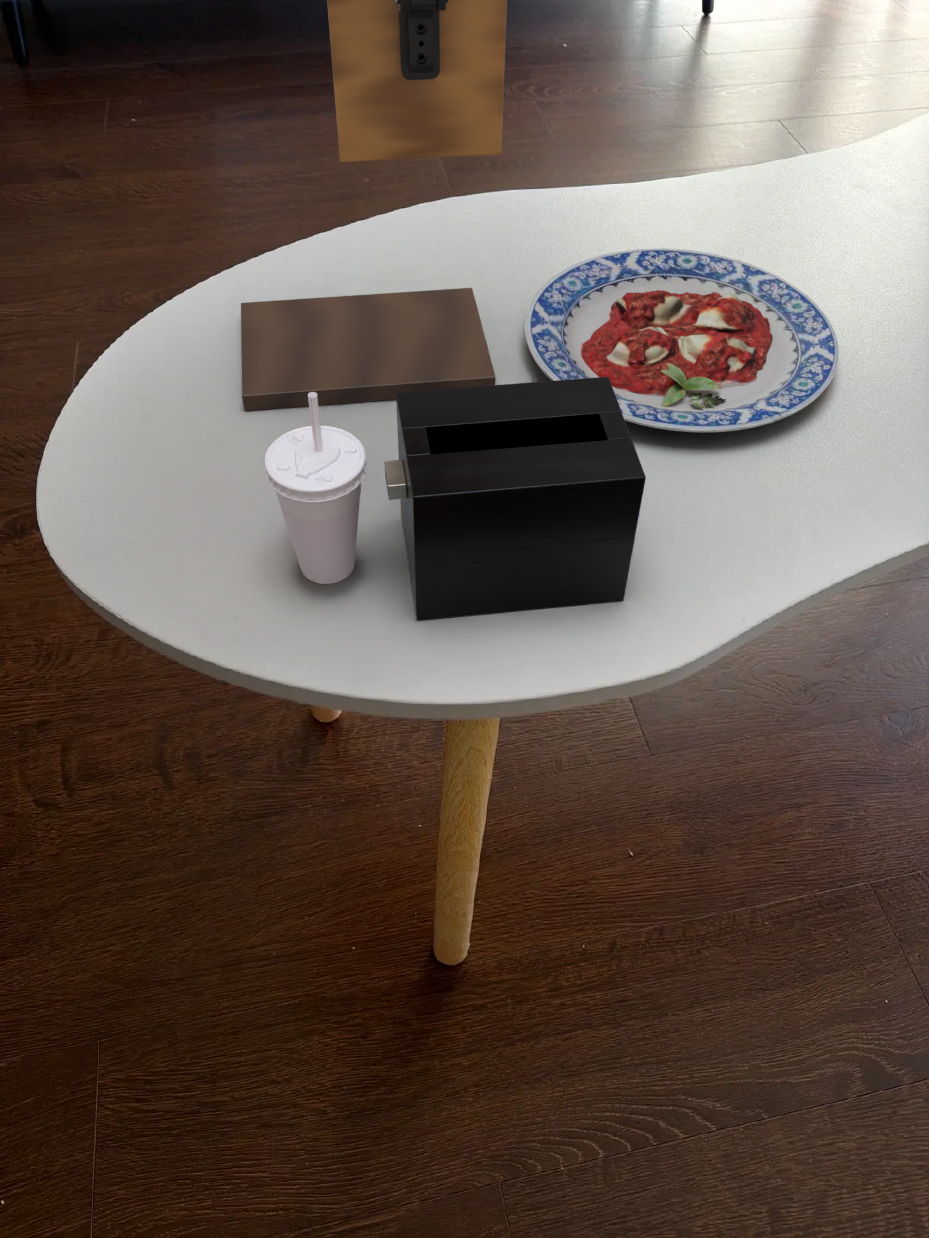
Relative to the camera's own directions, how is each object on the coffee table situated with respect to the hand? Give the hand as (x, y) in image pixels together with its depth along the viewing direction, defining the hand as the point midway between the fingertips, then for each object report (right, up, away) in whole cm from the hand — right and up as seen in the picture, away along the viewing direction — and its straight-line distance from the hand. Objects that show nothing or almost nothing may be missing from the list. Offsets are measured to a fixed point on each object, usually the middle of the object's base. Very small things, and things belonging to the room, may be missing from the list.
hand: (418, 68), depth 64 cm
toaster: (+6, -28, +12) cm, 31 cm away
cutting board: (-6, -10, +27) cm, 30 cm away
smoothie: (-7, -29, +11) cm, 32 cm away
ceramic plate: (+21, -10, +28) cm, 36 cm away
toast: (0, -3, +4) cm, 5 cm away
